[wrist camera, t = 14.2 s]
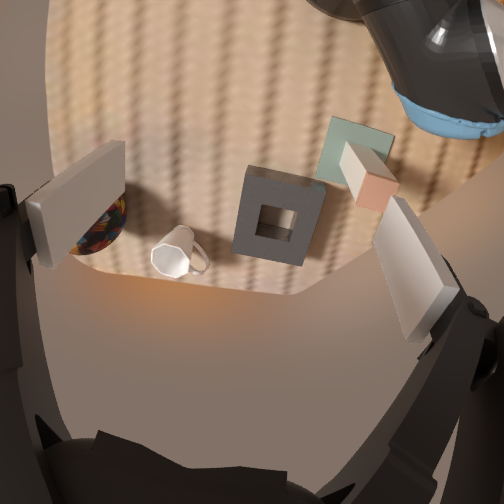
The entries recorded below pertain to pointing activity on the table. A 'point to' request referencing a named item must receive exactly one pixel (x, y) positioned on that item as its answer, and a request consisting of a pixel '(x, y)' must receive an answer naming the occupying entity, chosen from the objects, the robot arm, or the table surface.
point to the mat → (336, 143)
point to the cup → (177, 253)
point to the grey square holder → (282, 196)
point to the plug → (367, 177)
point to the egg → (103, 230)
